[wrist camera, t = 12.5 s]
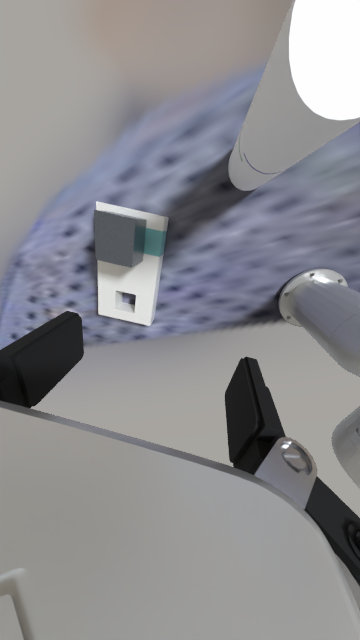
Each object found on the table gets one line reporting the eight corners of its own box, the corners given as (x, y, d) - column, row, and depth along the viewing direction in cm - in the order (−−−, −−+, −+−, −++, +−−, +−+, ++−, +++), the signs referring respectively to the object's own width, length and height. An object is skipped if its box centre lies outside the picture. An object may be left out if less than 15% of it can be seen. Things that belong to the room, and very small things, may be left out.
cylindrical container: (244, 201, 33) (328, 156, 11) (219, 163, 31) (259, 13, 9) (282, 165, 30) (505, 3, 8) (258, 121, 28) (463, -260, 6)
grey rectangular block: (153, 220, 36) (135, 219, 26) (149, 257, 39) (132, 267, 30) (122, 213, 36) (94, 209, 26) (121, 250, 39) (95, 259, 30)
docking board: (107, 203, 35) (96, 201, 32) (168, 217, 35) (164, 216, 32) (106, 307, 46) (98, 314, 42) (154, 318, 45) (150, 326, 42)
